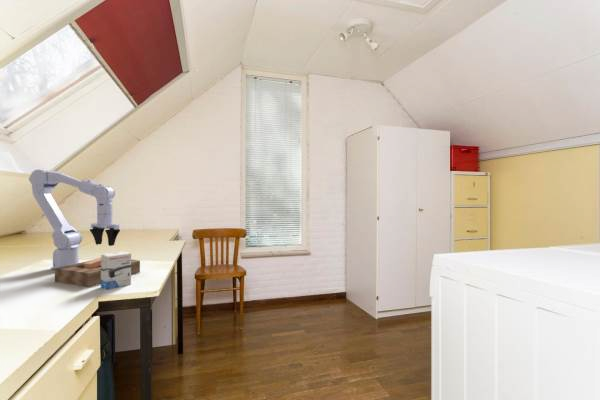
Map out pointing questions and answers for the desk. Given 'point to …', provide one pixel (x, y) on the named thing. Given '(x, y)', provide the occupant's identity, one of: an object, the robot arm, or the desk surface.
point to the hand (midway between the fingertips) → (105, 244)
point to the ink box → (115, 269)
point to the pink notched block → (92, 264)
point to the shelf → (85, 274)
